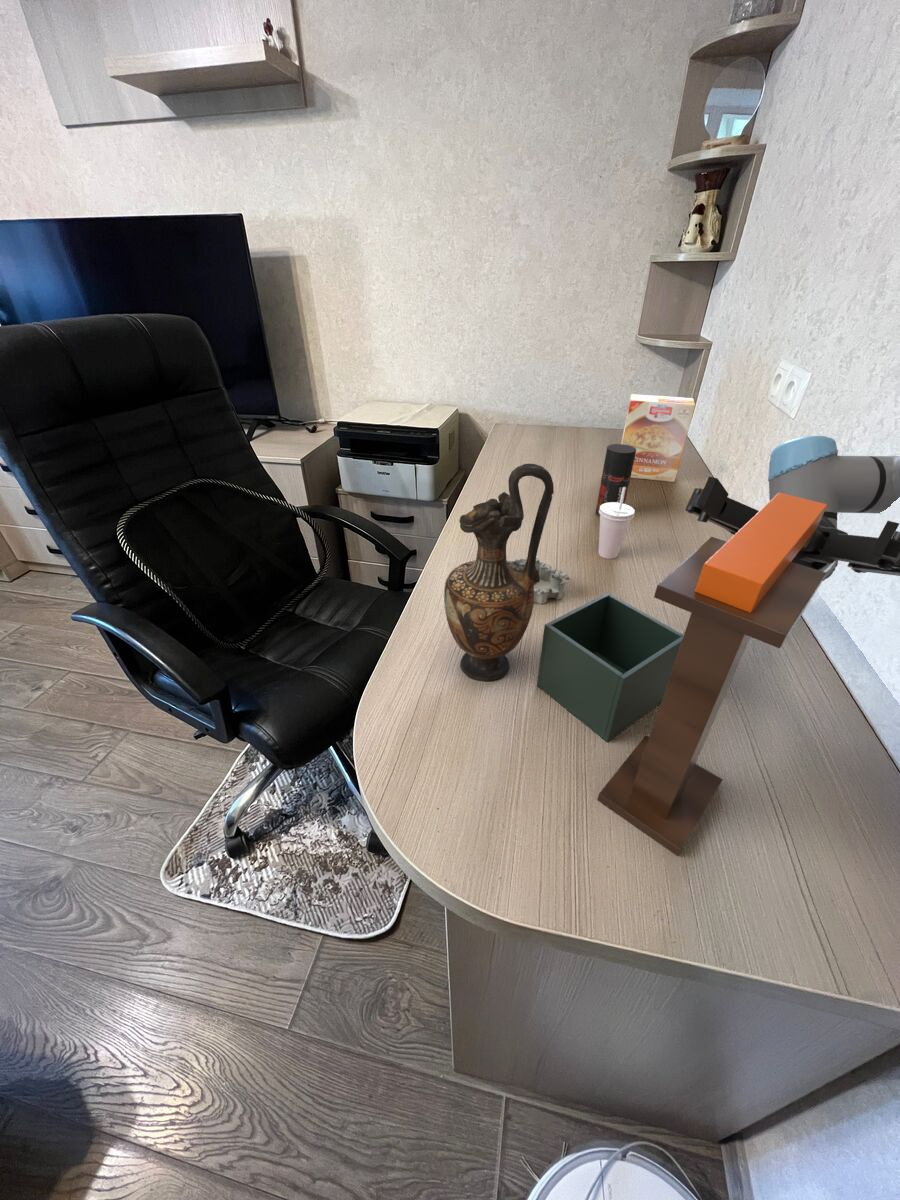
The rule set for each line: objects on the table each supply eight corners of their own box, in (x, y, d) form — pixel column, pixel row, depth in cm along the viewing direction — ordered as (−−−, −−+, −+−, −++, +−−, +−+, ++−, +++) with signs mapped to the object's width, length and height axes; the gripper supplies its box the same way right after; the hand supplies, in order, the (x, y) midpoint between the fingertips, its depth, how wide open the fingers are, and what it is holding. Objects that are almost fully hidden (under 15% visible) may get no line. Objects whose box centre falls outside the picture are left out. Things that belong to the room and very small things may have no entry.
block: (769, 516, 48) (778, 492, 47) (816, 529, 46) (828, 504, 45) (694, 592, 38) (703, 563, 36) (750, 613, 35) (763, 584, 34)
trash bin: (666, 698, 67) (688, 637, 61) (607, 742, 61) (624, 679, 55) (595, 650, 75) (607, 592, 69) (536, 685, 69) (544, 624, 63)
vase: (451, 636, 78) (452, 443, 60) (532, 645, 76) (556, 449, 59) (438, 690, 68) (434, 479, 51) (530, 701, 66) (557, 487, 49)
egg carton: (569, 598, 86) (573, 578, 84) (531, 608, 84) (533, 587, 82) (538, 568, 94) (540, 549, 92) (502, 576, 92) (504, 557, 90)
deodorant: (605, 506, 117) (618, 442, 109) (627, 514, 114) (642, 448, 105) (590, 513, 114) (601, 447, 106) (612, 521, 110) (625, 455, 102)
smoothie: (611, 565, 95) (626, 496, 87) (584, 553, 99) (596, 485, 91) (631, 555, 98) (647, 487, 90) (604, 543, 102) (617, 477, 94)
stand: (643, 741, 61) (711, 536, 45) (719, 786, 56) (826, 572, 40) (597, 800, 54) (657, 584, 38) (678, 856, 49) (786, 635, 33)
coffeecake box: (615, 476, 133) (630, 399, 121) (616, 467, 138) (630, 393, 127) (675, 482, 129) (696, 404, 118) (673, 473, 135) (693, 397, 123)
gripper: (913, 619, 53) (953, 612, 36) (682, 542, 67) (633, 512, 51) (951, 553, 52) (1011, 513, 35) (706, 489, 66) (665, 439, 49)
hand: (787, 512), depth 43 cm, fingers open, 13 cm apart
